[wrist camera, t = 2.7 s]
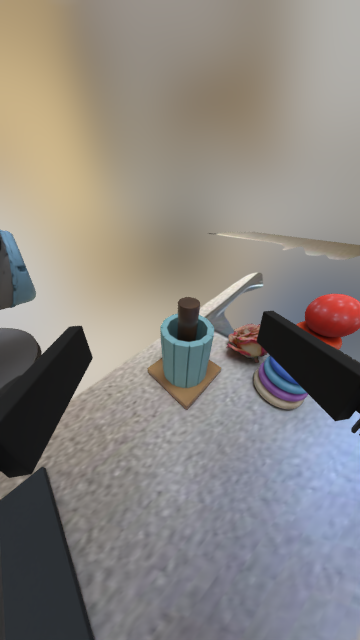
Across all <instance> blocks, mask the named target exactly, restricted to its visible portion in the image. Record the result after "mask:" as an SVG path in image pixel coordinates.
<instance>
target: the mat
mask: <svg viewBox="0 0 360 640" xmlns="http://www.w3.org/2000/svg"><path fill="white" fill-rule="evenodd" d="M0 551H1V569H2V586H3V604H4V622H5V640H94V638H93V635H92V631H91V628H90V624H89V620H88V617H87V613H86V610H85V606H84V603H83V599H82V596H81V592H80V589H79V585H78V582H77V578H76V574H75V571H74V567H73V564H72V560H71V557H70V553H69V550H68V546H67V543H66V539H65V536H64V532H63V528H62V525H61V521H60V518H59V514H58V511H57V507H56V504H55V500H54V497H53V493H52V490H51V486H50V482H49V479H48V475H47V472H46V468H44V467H41V468H40V469H39V470H38V471H36V472H35V473H34V474H33V475H31V476H30V477H29V478H28V479H26V480H25V481H24V482H23V483H21V484H20V485H19V486H18V487H16V488H15V489H14V490H13V491H11V492H10V493H9V494H8V495H6V496H5V497H4V498H3V499H2V500H0Z"/></svg>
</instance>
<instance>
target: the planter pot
mask: <svg viewBox="0 0 360 640" xmlns="http://www.w3.org/2000/svg"><path fill="white" fill-rule="evenodd" d="M177 332H178V314H175V315H172V316H170V317H168V318H167V319H165V320H164V321H163V323H162V325H161V345H162V361H163V371H164V375H165V377H166V379H167V380H168V381H169V382H170V383H171V384H172V385H175V386H177V387H181V388H185V387H186V388H190V387H193V386H197V384H199V383H200V382H201V381H202V380H203V379H204V378H205V375H206V370H207V365H208V361H209V356H210V351H211V346H212V341H213V336H214V327H213V325H212V324H211V323H210V321H209V320H208V319H206V318H204V317H202V316H200V315H199V318H198V326H197V335H196V341H192V342H186V341H180V340H177Z"/></svg>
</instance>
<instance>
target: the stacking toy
mask: <svg viewBox="0 0 360 640" xmlns="http://www.w3.org/2000/svg"><path fill="white" fill-rule="evenodd" d="M297 326H299V327H300V328H302V329H303V330H305V331H307V332H308V333H310V334H312V335H313V336H315V337H317V338H318V339H320V340H321V341H323V342H325V343H326V344H328V345H330V346H333V347H335V348H336V349H338V350H339V349H340V347H341V345H342V340H341V337H343V336H347V335H349V334H352V333H354V332H355V331H357V330H358V329H359V328H360V302H359V301H358V300H356V299H354V298H352V297H350V296H347V295H343V294H328V295H324V296H321V297H319V298H317V299H315V300H314V301H313V302H311V303H310V304H309V306H308V307H307V309H306V312H305V321H304V322H300V323H298V324H297ZM254 384H255V387H256V389H257V391H258V392H259V393H260V395H261V396H262V397H263V398H264V399H265V400H266V401H268V402H269V403H271V404H272V405H274V406H276V407H279V408H282V409H294V408H297V407H299V406H300V405H301V404H302V403H303V401H304V398H306V397H307V395H308V393H307V392H306V391H305V390H304V389H303V388H302V387H301V386H300V385H299V384H298V383H297V382H296V381H295V380H294V379H293V378H292V377H291V376H290V375H289V374H288V373H287V372H286V371H285V370H284V369H283V368H282V367H281V366H280V365H279V364H278V363H277V362H276V361H275V360H274V359H273V358H272V357H271V356H269V357H267V358H266V360H265V361H264V362H263V363H262V364H261V365H260V367H259V368H258V369H257V370H256V371H255V373H254Z"/></svg>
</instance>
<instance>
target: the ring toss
mask: <svg viewBox="0 0 360 640" xmlns="http://www.w3.org/2000/svg"><path fill="white" fill-rule="evenodd" d="M199 309H200V302H199V301H198V300H197V299H195V298H191V297H185V298H182V299H180V300H179V302H178V332H177V340H180V341H186V342H192V341H196V335H197V326H198V318H199ZM220 371H221V367H219V366H218V365H216V364H215V363H213V362H212V361H210V360H209V361H208V365H207V370H206V375H205V378H204V379H203V380H202V381H201V382H200V383H199V384H197V386H193V387H190V388H186V387H185V388H181V387H177V386H175V385H172V384H171V383H170V382H169V381H168V380H167V379H166V377H165V375H164V371H163V361H162V358H161V359H160V360H158V361H157V362H156V363H154V364H153V365H152V366H150V367H149V368H148V373H149V374H150V375H151V376H152V377H153V378H154V379H155V380H156V381H157V382H159V383H160V384H161V385H162V386H163V387H164V388H165V389H166V390H167V391H168V392H169V393H170V394H171V395H172V396H173V397H174V398H175V399H176V400H177V401H178V402H179V403H180V404H181V405H182V406H183V407H184V408H185V409H186V410H187V409H188V408H189V407H190V406H191V405H192V403H193V402H194V401H195V400H196V399H197V398H198V397H199V395H200V394H201V393H202V392H203V391H204V390H205V389H206V387H207V386H208V385H209V384H210V383H211V382H212V381H213V379H214V378H215V377H216V376H217V375H218V374H219V373H220Z"/></svg>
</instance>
